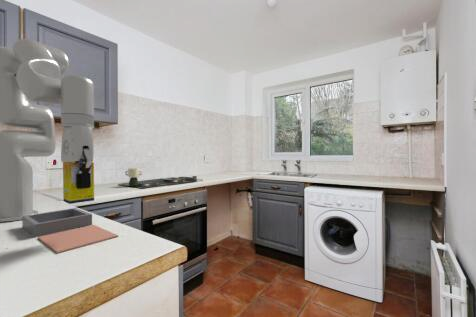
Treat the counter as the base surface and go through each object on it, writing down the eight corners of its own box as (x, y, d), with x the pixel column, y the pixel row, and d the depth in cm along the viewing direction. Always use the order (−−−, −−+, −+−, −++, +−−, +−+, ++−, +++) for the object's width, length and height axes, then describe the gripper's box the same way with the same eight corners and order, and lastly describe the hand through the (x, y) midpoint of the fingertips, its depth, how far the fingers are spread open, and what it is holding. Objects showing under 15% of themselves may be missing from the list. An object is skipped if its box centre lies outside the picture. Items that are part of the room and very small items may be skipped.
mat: (37, 238, 63) (37, 236, 63) (93, 225, 75) (93, 224, 75) (57, 253, 54) (57, 251, 54) (118, 236, 65) (118, 235, 65)
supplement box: (87, 198, 68) (86, 161, 68) (94, 200, 64) (94, 161, 64) (62, 201, 64) (62, 161, 63) (69, 204, 60) (68, 162, 60)
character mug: (142, 185, 172) (142, 168, 172) (141, 186, 165) (141, 168, 165) (126, 185, 169) (126, 168, 168) (124, 187, 162) (124, 168, 162)
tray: (22, 227, 73) (22, 216, 73) (75, 217, 84) (75, 207, 84) (35, 237, 64) (35, 224, 64) (92, 224, 76) (92, 214, 76)
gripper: (51, 123, 66) (51, 186, 66) (74, 117, 56) (74, 191, 56) (81, 126, 72) (81, 183, 72) (106, 121, 62) (107, 188, 62)
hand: (78, 186), depth 64 cm, fingers closed on supplement box, 6 cm apart
